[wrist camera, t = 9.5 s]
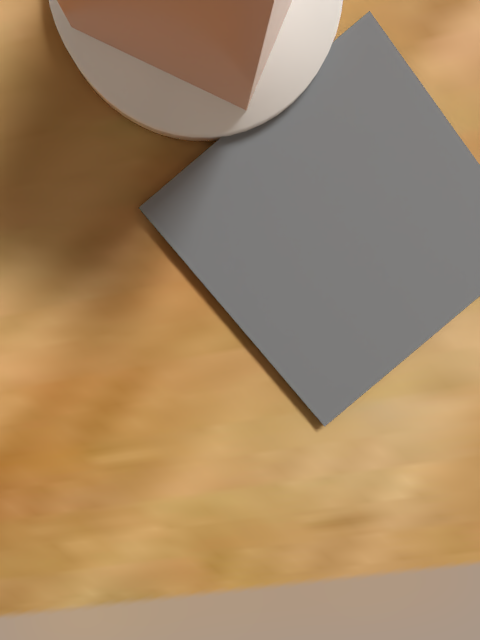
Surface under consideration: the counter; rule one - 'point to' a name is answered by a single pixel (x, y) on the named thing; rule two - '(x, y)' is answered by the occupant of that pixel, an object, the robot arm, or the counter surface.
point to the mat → (335, 223)
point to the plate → (192, 102)
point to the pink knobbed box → (189, 37)
